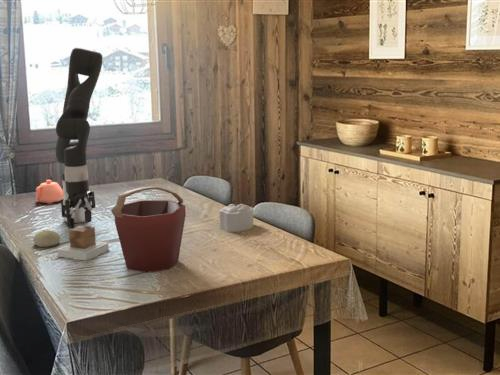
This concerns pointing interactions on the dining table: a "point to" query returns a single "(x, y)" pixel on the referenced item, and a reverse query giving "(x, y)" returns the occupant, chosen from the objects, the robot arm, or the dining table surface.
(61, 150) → the robot arm
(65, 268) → the dining table surface
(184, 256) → the dining table surface
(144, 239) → the bucket
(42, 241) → the sea urchin shell
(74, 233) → the walnut cube
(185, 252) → the dining table surface
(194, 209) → the dining table surface
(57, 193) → the sugar bowl
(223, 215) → the lumpy-topped squat cylinder
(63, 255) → the tray
